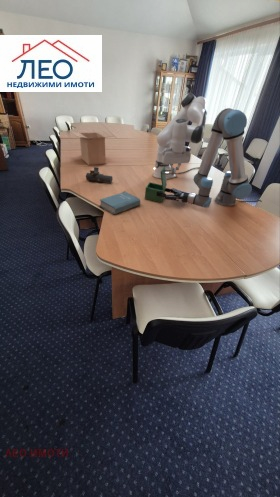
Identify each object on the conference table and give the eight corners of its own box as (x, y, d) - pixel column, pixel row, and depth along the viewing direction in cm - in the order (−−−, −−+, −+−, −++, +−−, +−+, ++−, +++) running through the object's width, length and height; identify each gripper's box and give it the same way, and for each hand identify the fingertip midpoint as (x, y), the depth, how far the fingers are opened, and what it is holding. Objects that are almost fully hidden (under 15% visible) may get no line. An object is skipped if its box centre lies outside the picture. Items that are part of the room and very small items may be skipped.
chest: (144, 198, 166) (145, 187, 159) (148, 192, 172) (149, 182, 166) (161, 202, 163) (163, 191, 157) (164, 196, 170) (166, 185, 164)
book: (125, 198, 165) (125, 191, 162) (140, 205, 156) (140, 199, 153) (100, 206, 151) (99, 199, 149) (115, 215, 143) (115, 207, 140)
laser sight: (109, 185, 184) (109, 173, 178) (84, 181, 187) (83, 169, 181) (113, 181, 192) (113, 169, 186) (88, 177, 195) (87, 166, 189)
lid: (160, 171, 149) (173, 170, 145) (163, 166, 155) (176, 165, 152) (162, 190, 157) (175, 190, 154) (165, 185, 164) (177, 184, 161)
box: (116, 165, 229) (116, 136, 213) (83, 168, 214) (80, 137, 198) (102, 154, 259) (101, 128, 243) (71, 156, 244) (68, 129, 228)
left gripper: (165, 149, 137) (163, 172, 144) (193, 148, 144) (189, 170, 151) (161, 147, 141) (158, 169, 149) (187, 146, 148) (184, 168, 156)
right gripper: (183, 208, 150) (153, 201, 157) (191, 197, 167) (163, 191, 174) (185, 198, 146) (154, 191, 153) (193, 187, 163) (165, 181, 170)
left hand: (174, 170), depth 150 cm, fingers closed on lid, 3 cm apart
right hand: (159, 191), depth 163 cm, fingers closed on chest, 10 cm apart
